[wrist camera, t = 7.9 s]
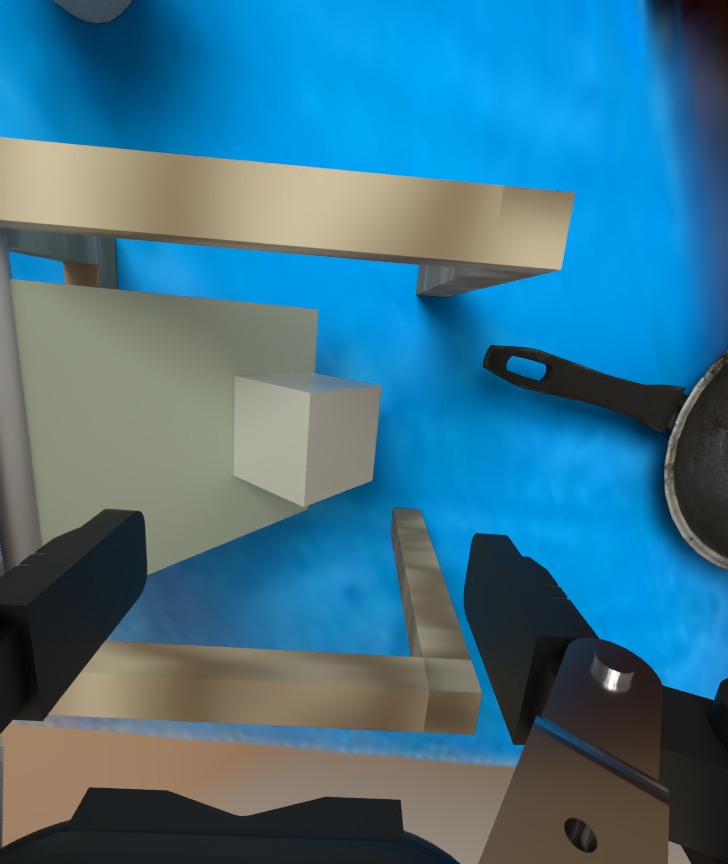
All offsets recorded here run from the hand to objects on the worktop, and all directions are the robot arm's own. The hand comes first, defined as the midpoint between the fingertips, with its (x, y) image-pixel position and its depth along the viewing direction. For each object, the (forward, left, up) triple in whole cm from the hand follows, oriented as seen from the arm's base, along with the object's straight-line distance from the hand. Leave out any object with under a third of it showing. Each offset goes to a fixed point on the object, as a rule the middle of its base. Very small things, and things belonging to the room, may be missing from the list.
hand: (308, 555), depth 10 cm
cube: (-3, 0, -13) cm, 13 cm away
